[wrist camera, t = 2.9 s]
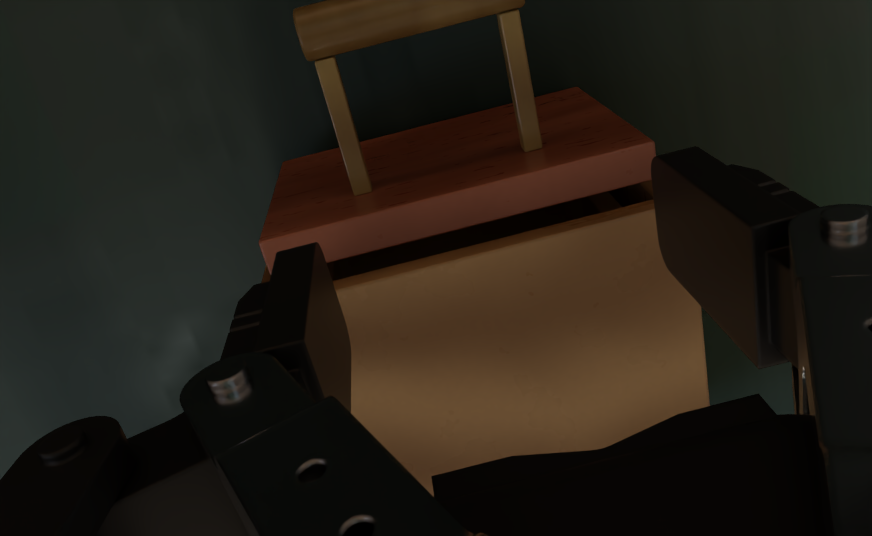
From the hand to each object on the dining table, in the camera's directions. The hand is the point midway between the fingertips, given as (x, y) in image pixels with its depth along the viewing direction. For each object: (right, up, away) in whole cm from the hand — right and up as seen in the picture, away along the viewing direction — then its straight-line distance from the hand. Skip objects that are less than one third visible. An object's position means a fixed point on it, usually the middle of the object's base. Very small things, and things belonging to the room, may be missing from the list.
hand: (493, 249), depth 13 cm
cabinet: (+1, -3, +21) cm, 21 cm away
